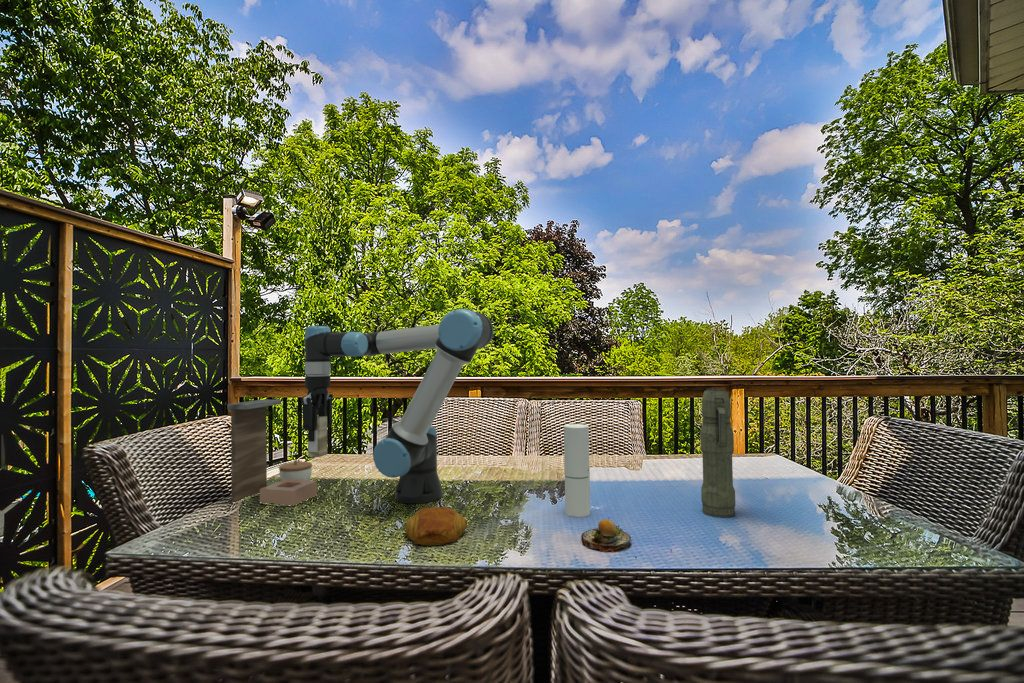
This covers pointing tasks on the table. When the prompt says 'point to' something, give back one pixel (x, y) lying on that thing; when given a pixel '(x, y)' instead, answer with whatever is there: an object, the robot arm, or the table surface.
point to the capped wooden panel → (248, 447)
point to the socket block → (288, 492)
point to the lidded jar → (296, 471)
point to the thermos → (717, 454)
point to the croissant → (435, 526)
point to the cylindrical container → (577, 470)
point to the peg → (320, 437)
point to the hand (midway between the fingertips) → (317, 450)
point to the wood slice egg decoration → (606, 537)
